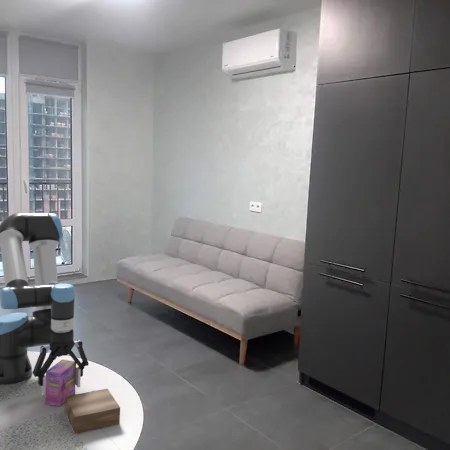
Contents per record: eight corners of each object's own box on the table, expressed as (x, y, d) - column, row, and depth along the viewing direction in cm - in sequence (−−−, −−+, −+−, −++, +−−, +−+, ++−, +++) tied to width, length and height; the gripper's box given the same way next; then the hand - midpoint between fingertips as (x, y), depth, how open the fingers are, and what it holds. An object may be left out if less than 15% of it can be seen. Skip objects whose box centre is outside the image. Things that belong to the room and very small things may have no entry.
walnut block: (64, 413, 151) (65, 396, 150) (106, 404, 158) (107, 388, 157) (74, 435, 139) (75, 417, 138) (119, 425, 146) (120, 407, 145)
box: (59, 406, 154) (60, 373, 153) (44, 404, 155) (45, 370, 154) (75, 392, 164) (76, 361, 163) (61, 390, 165) (62, 359, 164)
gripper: (29, 338, 147) (28, 403, 149) (99, 327, 161) (97, 385, 164) (22, 331, 153) (22, 393, 155) (91, 320, 167) (89, 377, 170)
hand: (60, 389), depth 159 cm, fingers closed on box, 11 cm apart
